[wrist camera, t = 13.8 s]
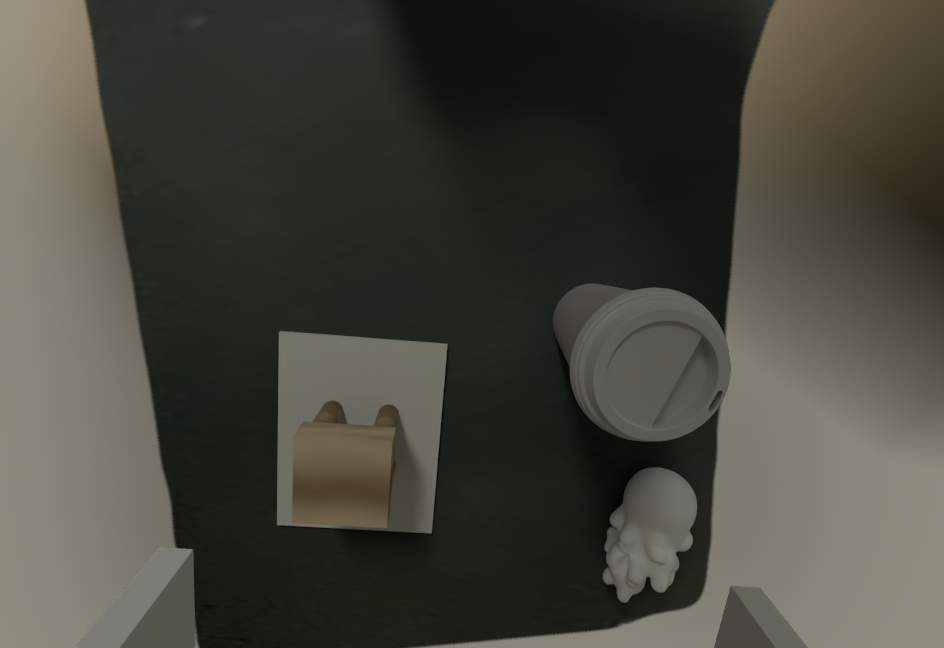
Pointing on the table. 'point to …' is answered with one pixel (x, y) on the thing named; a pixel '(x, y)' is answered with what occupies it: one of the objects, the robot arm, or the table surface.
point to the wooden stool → (344, 469)
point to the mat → (366, 411)
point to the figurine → (649, 531)
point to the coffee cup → (642, 359)
